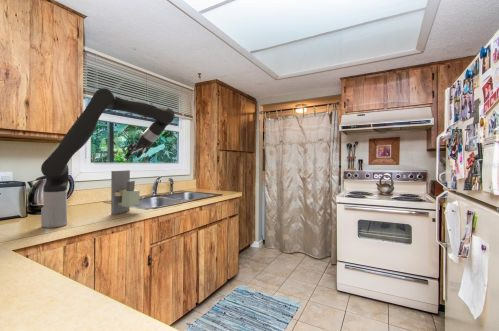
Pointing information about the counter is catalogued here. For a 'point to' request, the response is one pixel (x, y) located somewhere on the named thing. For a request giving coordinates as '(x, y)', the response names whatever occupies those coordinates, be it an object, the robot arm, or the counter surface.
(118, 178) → the wall board
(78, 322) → the counter surface
